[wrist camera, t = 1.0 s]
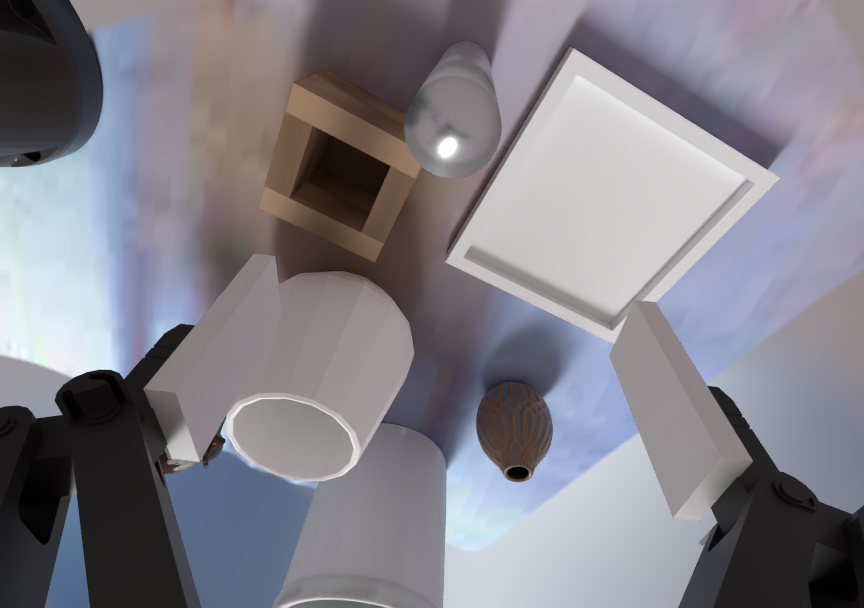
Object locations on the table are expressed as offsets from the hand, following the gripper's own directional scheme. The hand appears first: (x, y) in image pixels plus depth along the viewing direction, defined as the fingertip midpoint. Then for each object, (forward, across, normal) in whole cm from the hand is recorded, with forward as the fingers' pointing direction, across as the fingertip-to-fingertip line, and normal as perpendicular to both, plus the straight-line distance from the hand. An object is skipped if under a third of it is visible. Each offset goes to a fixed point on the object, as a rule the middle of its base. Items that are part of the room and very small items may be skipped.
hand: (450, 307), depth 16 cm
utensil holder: (+18, -3, -35) cm, 39 cm away
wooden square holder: (+18, -7, 0) cm, 19 cm away
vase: (+18, +8, -22) cm, 29 cm away
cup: (+18, -8, -15) cm, 25 cm away
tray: (+17, +10, -3) cm, 20 cm away
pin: (+18, 0, +6) cm, 19 cm away
